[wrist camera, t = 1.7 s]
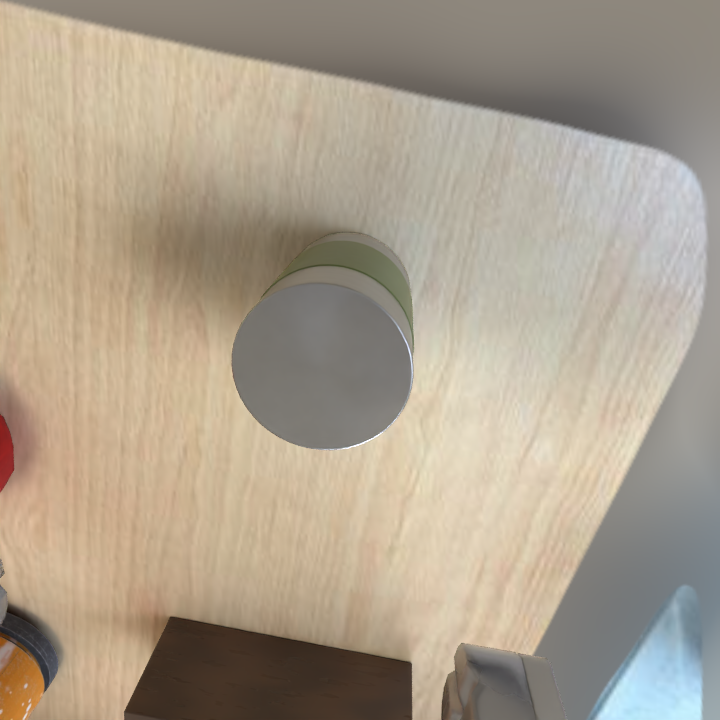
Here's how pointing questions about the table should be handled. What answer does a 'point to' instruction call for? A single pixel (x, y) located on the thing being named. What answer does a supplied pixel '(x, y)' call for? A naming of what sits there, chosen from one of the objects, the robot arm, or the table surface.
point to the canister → (23, 667)
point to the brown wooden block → (264, 679)
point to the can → (329, 345)
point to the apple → (5, 454)
